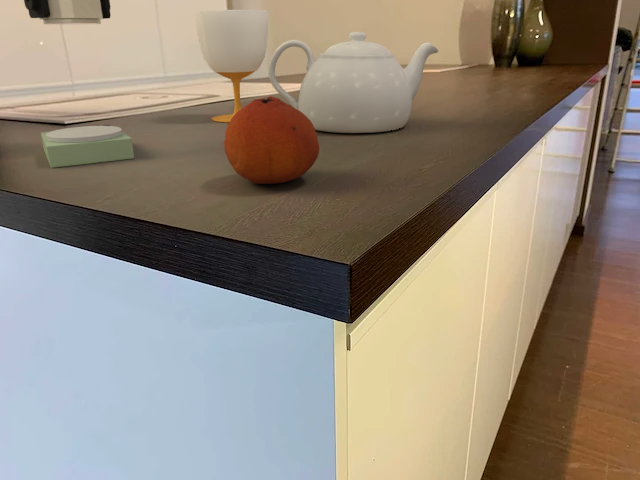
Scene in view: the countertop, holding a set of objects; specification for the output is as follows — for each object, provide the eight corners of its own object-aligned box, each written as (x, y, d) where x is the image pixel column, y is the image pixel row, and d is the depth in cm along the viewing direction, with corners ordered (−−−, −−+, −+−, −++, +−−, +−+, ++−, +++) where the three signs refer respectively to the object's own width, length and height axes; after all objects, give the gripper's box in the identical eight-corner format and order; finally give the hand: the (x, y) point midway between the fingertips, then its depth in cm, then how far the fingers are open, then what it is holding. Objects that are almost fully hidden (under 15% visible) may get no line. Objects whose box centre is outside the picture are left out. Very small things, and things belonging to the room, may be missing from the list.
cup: (286, 117, 93) (282, 10, 87) (234, 126, 85) (226, 9, 79) (242, 112, 100) (235, 13, 94) (190, 120, 92) (179, 12, 86)
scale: (44, 151, 68) (39, 127, 67) (117, 143, 73) (114, 121, 71) (50, 168, 59) (45, 141, 58) (134, 158, 64) (130, 132, 62)
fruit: (245, 199, 47) (238, 105, 44) (218, 177, 54) (211, 95, 51) (335, 186, 50) (335, 98, 47) (298, 167, 58) (296, 90, 55)
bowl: (28, 24, 60) (18, -26, 59) (61, 24, 67) (53, -20, 65) (85, 22, 60) (78, -28, 58) (113, 23, 66) (107, -22, 64)
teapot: (347, 114, 95) (347, 32, 91) (436, 124, 83) (442, 30, 79) (267, 127, 83) (262, 33, 78) (358, 141, 71) (359, 31, 66)
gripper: (94, -139, 65) (116, 20, 72) (-67, -180, 52) (-22, 18, 58) (133, -151, 61) (152, 18, 68) (-32, -200, 48) (12, 15, 54)
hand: (71, 16), depth 63 cm, fingers closed on bowl, 7 cm apart
